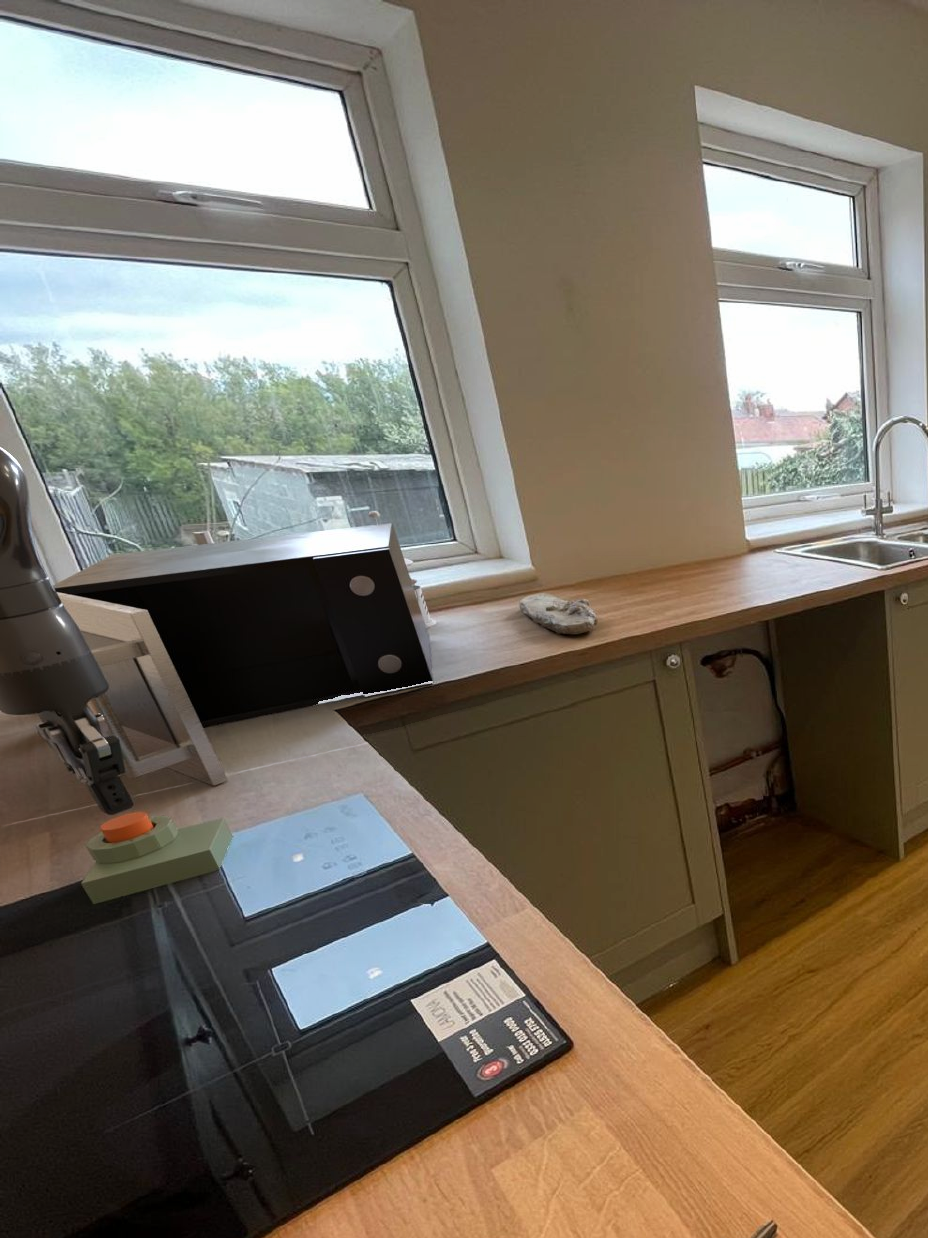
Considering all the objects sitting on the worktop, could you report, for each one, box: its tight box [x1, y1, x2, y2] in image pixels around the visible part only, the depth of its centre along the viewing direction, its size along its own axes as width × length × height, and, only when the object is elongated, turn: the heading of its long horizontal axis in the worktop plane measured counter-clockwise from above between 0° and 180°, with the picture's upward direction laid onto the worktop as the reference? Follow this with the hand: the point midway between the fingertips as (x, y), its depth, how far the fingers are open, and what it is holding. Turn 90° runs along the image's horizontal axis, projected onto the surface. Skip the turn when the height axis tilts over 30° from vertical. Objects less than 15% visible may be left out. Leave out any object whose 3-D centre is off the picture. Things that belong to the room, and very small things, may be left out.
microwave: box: [52, 522, 434, 729], centre depth 130 cm, size 32×40×24 cm
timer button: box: [99, 811, 154, 843], centre depth 82 cm, size 4×4×2 cm
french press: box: [368, 510, 438, 629], centre depth 162 cm, size 10×12×25 cm
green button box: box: [80, 815, 234, 905], centre depth 83 cm, size 10×9×4 cm
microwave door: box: [57, 592, 228, 787], centre depth 100 cm, size 8×30×24 cm, turn 63°
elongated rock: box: [518, 592, 599, 635], centre depth 166 cm, size 35×5×10 cm
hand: (118, 809), depth 81 cm, fingers closed
